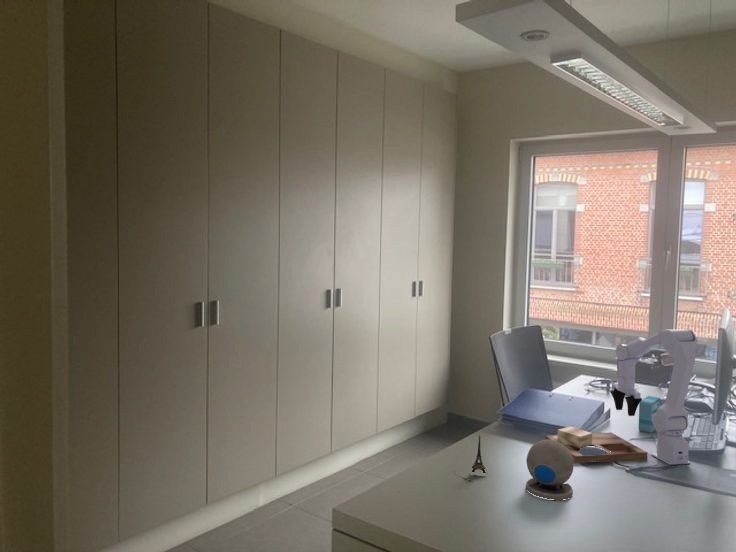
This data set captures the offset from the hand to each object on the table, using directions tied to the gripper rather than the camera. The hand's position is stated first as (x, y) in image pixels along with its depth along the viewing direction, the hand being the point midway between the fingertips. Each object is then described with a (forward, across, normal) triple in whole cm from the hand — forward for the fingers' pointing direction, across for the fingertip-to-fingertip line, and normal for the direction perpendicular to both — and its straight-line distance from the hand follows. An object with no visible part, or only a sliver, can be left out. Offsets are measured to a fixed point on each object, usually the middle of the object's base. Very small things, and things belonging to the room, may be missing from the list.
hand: (625, 412), depth 220 cm
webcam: (+10, -41, +51) cm, 66 cm away
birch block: (+7, -10, +26) cm, 28 cm away
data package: (+10, +8, -16) cm, 20 cm away
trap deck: (+9, -12, +19) cm, 24 cm away
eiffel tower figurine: (+10, -24, +66) cm, 71 cm away
